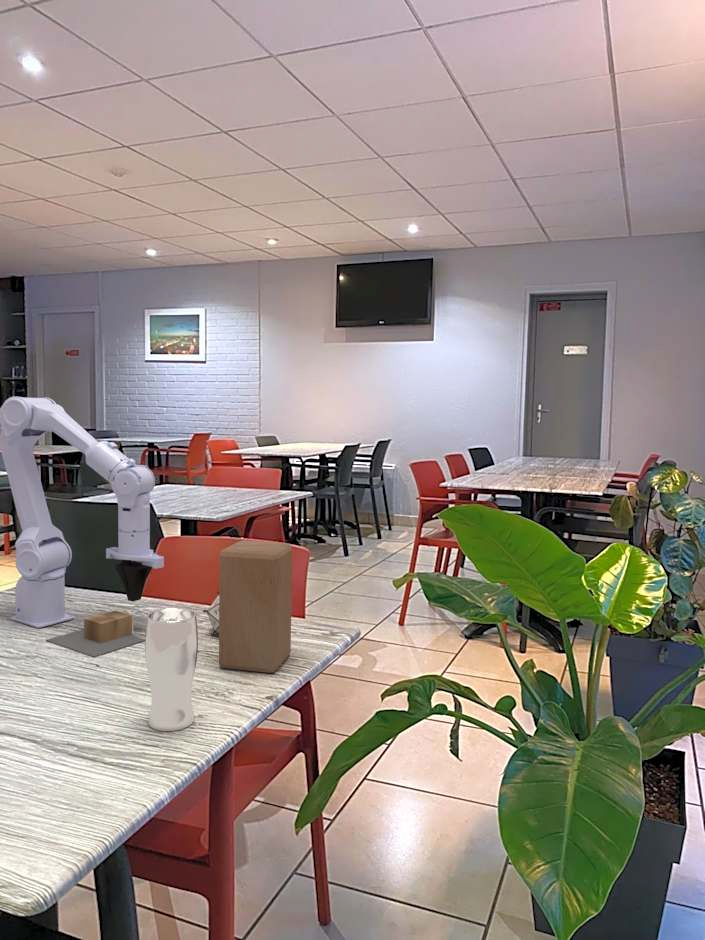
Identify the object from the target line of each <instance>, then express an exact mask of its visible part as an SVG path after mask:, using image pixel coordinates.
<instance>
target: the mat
mask: <svg viewBox="0 0 705 940" xmlns="http://www.w3.org/2000/svg"><path fill="white" fill-rule="evenodd" d="M45 641H46V642H48V643H51V644H53V643H54V645H56V644H58V645H57V646H59V645H60V647H62V646H63V648H65V647H66V648H65V649H68V648H69V650H71V649H72V651H74V650H75V652H77V651H78V652H77V653H80V652H81V653H80V654H83V655H86V654H87V655H86V656H88V657H93V658H97V657H101V656H104V655H106V653H107V654H109V652H110V653H112V651H113V652H115V651H118V650H121V649H124V648H127V647H131V646H134V645H137V644H140V643H142V642H143V643H144V642H145V638H142V637H139V636H136V635H134V634H130V635H127V636H124V637H121V638H118V639H114V640H111V641H108V642H105V643H98V642H95V641H92V640H89V639H86V638H84V628H83V629H79V630H75V631H73V632H72V631H71V632H68V633H64V634H61V635H58V636H54V637H51V638H48V639H45ZM103 654H104V655H103ZM100 655H101V656H100Z"/></svg>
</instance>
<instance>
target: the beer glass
mask: <svg viewBox="0 0 705 940" xmlns="http://www.w3.org/2000/svg"><path fill="white" fill-rule="evenodd" d="M198 630H199V629H198V620H197V612H196V611H195V610H193V609H189V608H185V607H167V608H159V609H156V610H153V611H151V612H149V613H147V615H146V622H145V635H144V636H145V637H144V639H145V641H144V654H145V655H144V657H145V664H146V670H147V671H146V672H147V675H148V681H149V686H150V691H151V692H150V693H151V705H150V711H149V716H148V725H149V727H150V728H151V729H153V730H155V731H158V732H176V731H180V730H183V729H186V728H188V727H190V726H191V725H192V724H193V723H194V722H195V714H194V709H193V702H192V690H193V683H194V678H195V673H196V668H197V667H196V666H197V661H198V660H197V659H198V654H199V653H198V652H199V651H198V650H199V635H198V634H199V633H198Z"/></svg>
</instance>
